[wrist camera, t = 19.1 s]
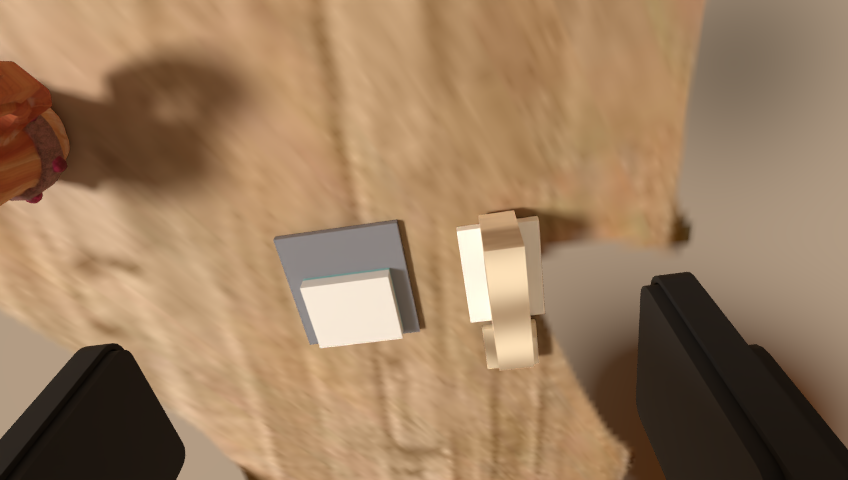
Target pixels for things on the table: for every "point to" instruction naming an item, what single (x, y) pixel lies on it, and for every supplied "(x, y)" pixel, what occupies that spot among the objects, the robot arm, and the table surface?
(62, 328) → the table surface
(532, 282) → the pad
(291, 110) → the table surface
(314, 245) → the mat
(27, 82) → the mug
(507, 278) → the beige piece
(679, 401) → the robot arm
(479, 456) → the table surface
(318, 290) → the tile
